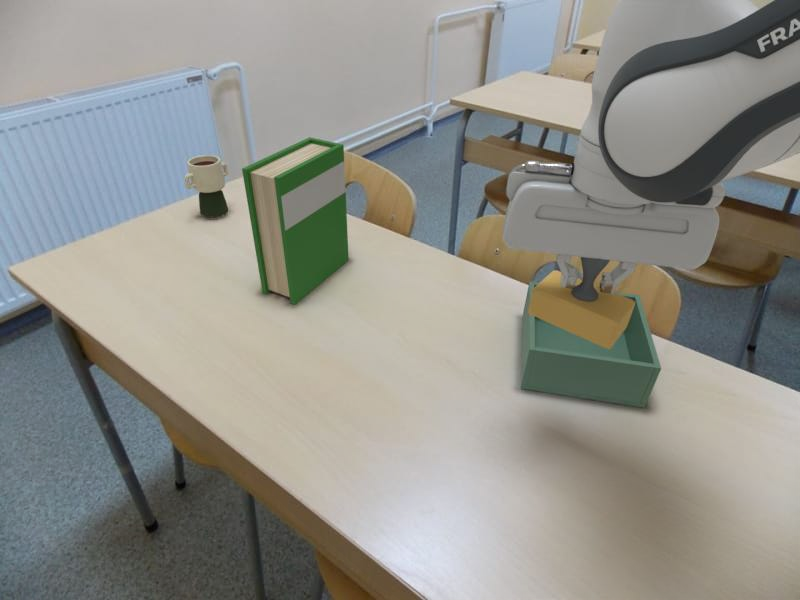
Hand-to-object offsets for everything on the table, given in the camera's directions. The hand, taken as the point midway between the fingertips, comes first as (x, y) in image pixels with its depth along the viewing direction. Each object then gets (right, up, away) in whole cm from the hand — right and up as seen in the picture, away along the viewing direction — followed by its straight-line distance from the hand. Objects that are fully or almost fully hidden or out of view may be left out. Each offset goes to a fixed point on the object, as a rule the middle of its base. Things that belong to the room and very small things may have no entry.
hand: (586, 288), depth 57 cm
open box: (+8, -11, +25) cm, 29 cm away
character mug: (-64, +19, +64) cm, 92 cm away
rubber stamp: (0, -4, +3) cm, 5 cm away
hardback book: (-39, +3, +43) cm, 58 cm away
